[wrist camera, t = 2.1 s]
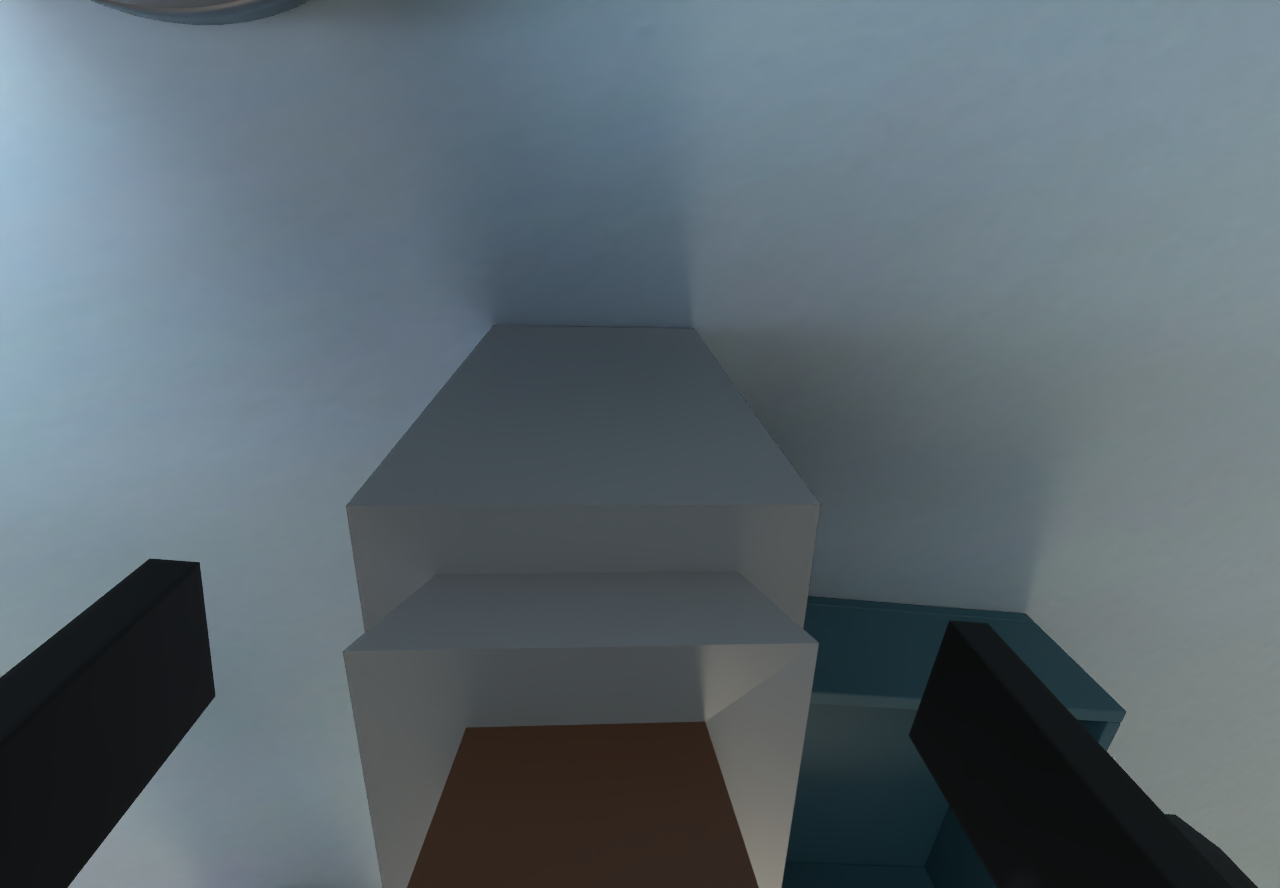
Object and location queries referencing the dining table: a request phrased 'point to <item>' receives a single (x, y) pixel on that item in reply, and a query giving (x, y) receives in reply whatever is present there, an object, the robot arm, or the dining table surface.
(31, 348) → the dining table surface
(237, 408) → the dining table surface
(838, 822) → the case
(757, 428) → the perfume bottle
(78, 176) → the dining table surface
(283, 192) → the dining table surface
